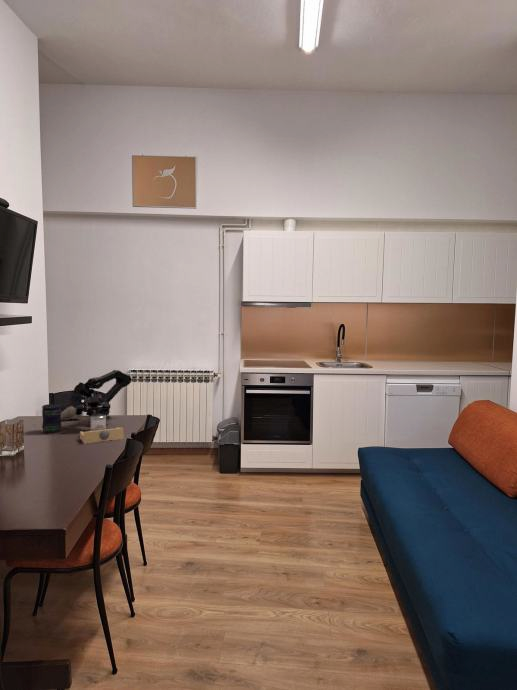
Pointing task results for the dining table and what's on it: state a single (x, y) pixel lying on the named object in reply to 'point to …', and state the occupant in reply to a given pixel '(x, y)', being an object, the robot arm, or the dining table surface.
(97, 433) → the tan wooden u-frame
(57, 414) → the storage jar
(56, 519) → the dining table surface
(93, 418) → the door knob
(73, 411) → the pipe
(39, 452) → the dining table surface
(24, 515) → the dining table surface
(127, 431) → the dining table surface
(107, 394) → the robot arm
